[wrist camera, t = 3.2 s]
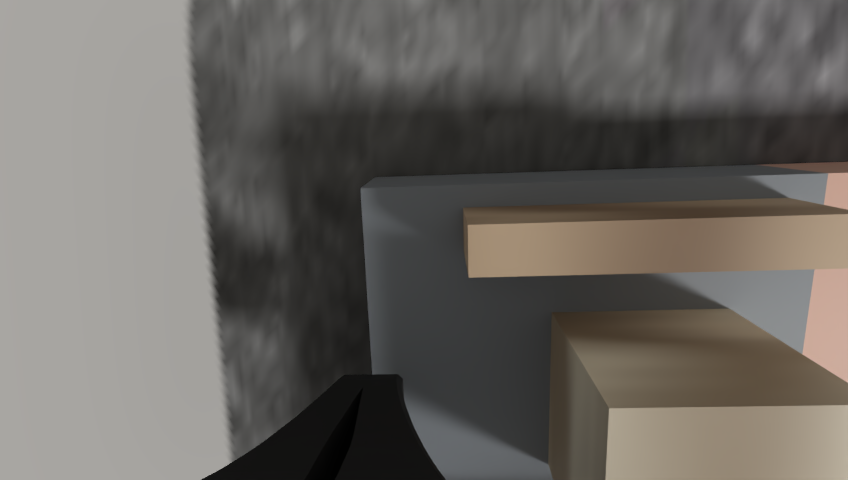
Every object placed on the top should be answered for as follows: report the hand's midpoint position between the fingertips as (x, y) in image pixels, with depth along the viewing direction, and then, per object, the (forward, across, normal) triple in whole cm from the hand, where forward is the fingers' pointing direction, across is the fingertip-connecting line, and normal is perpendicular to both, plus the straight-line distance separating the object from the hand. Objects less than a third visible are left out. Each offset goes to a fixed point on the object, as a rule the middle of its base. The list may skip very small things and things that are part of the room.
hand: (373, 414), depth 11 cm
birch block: (+1, -6, 0) cm, 6 cm away
